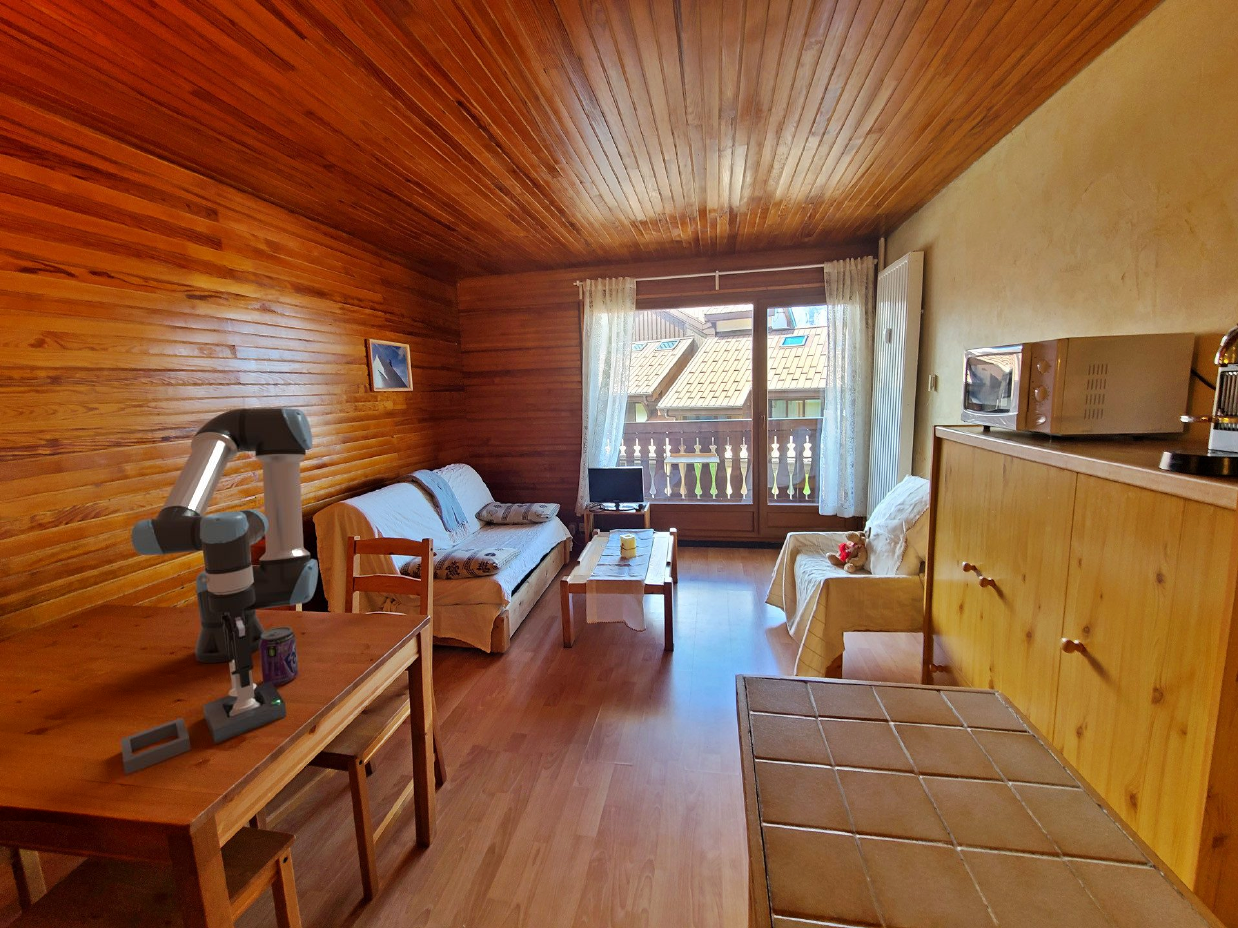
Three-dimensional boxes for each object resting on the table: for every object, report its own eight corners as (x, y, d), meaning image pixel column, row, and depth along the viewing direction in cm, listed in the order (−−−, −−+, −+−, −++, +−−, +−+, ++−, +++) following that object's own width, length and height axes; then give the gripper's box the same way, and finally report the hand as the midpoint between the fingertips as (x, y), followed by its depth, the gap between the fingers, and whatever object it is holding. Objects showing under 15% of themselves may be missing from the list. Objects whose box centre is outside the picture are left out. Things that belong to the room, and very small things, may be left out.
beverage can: (281, 689, 116) (276, 640, 115) (255, 686, 118) (250, 637, 116) (305, 673, 123) (301, 626, 122) (281, 670, 125) (276, 624, 123)
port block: (204, 717, 106) (202, 702, 106) (271, 693, 115) (270, 679, 115) (215, 744, 98) (213, 727, 98) (286, 715, 107) (285, 700, 106)
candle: (223, 719, 103) (217, 665, 102) (237, 704, 109) (231, 652, 107) (252, 716, 104) (246, 662, 103) (265, 701, 110) (259, 649, 108)
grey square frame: (122, 751, 96) (120, 739, 96) (184, 728, 103) (182, 717, 102) (125, 775, 90) (123, 762, 90) (190, 749, 97) (189, 737, 96)
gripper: (200, 582, 106) (213, 685, 109) (215, 605, 94) (229, 720, 97) (244, 573, 112) (254, 671, 115) (263, 594, 99) (275, 703, 103)
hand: (243, 693), depth 106 cm, fingers closed on candle, 5 cm apart
